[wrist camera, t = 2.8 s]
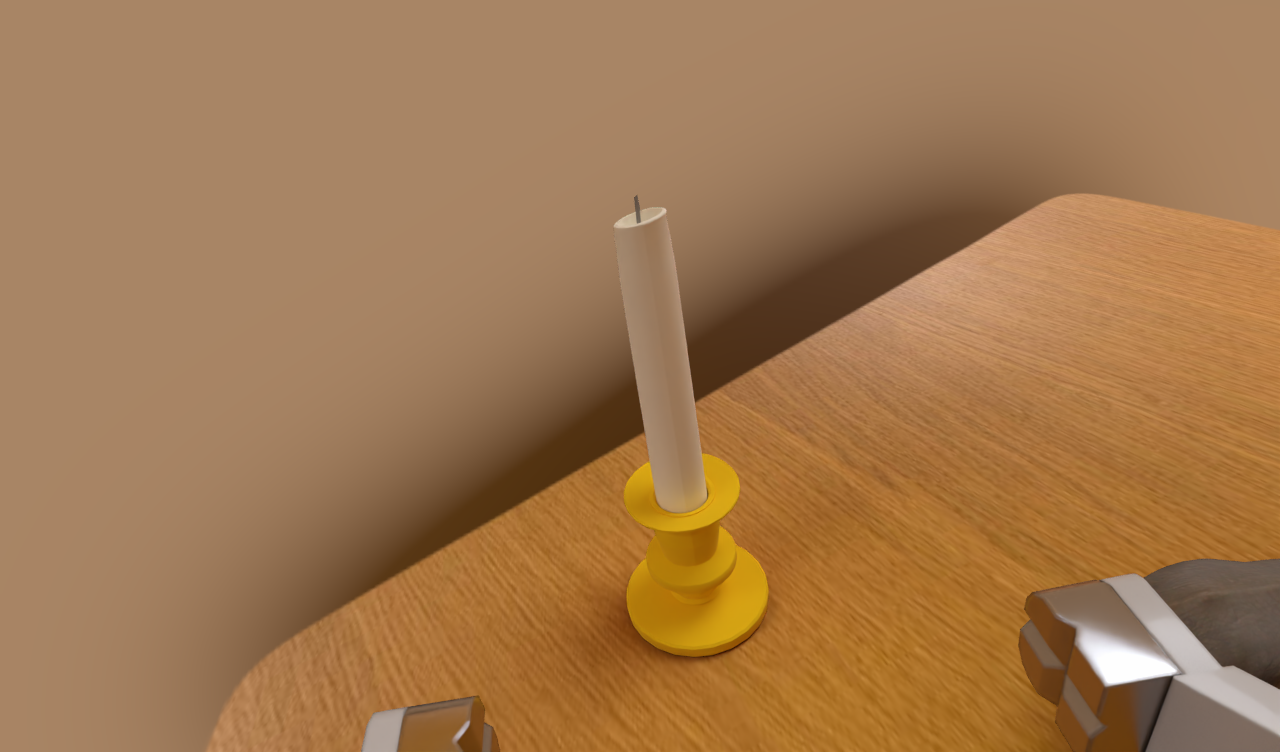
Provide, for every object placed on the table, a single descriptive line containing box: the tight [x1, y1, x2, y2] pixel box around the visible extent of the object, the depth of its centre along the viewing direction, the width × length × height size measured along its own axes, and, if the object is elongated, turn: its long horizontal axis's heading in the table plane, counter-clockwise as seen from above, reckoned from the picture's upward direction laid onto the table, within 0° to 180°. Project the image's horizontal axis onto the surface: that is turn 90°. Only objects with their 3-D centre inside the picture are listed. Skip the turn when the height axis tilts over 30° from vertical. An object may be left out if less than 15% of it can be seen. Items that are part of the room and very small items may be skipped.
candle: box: [614, 196, 769, 657], centre depth 24 cm, size 5×5×16 cm
